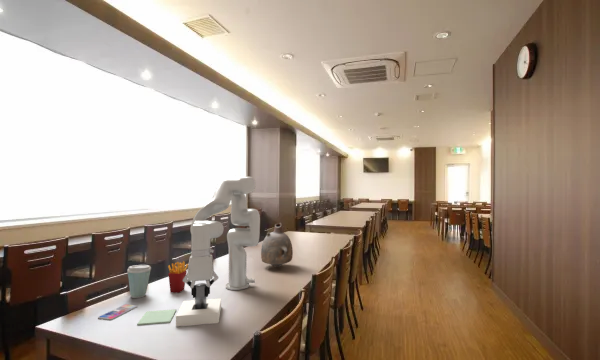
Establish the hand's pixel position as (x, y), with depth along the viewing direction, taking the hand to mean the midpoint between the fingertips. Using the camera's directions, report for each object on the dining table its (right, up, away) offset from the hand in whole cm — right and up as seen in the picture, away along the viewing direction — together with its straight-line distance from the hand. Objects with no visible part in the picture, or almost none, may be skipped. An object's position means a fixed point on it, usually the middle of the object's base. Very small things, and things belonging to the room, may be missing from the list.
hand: (200, 295), depth 126 cm
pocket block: (0, -8, -1) cm, 8 cm away
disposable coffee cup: (-39, -9, +23) cm, 46 cm away
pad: (-17, -8, -2) cm, 19 cm away
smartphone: (-37, -9, +3) cm, 38 cm away
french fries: (-23, -9, +32) cm, 40 cm away
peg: (0, -5, 0) cm, 5 cm away
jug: (+26, -11, +78) cm, 83 cm away
